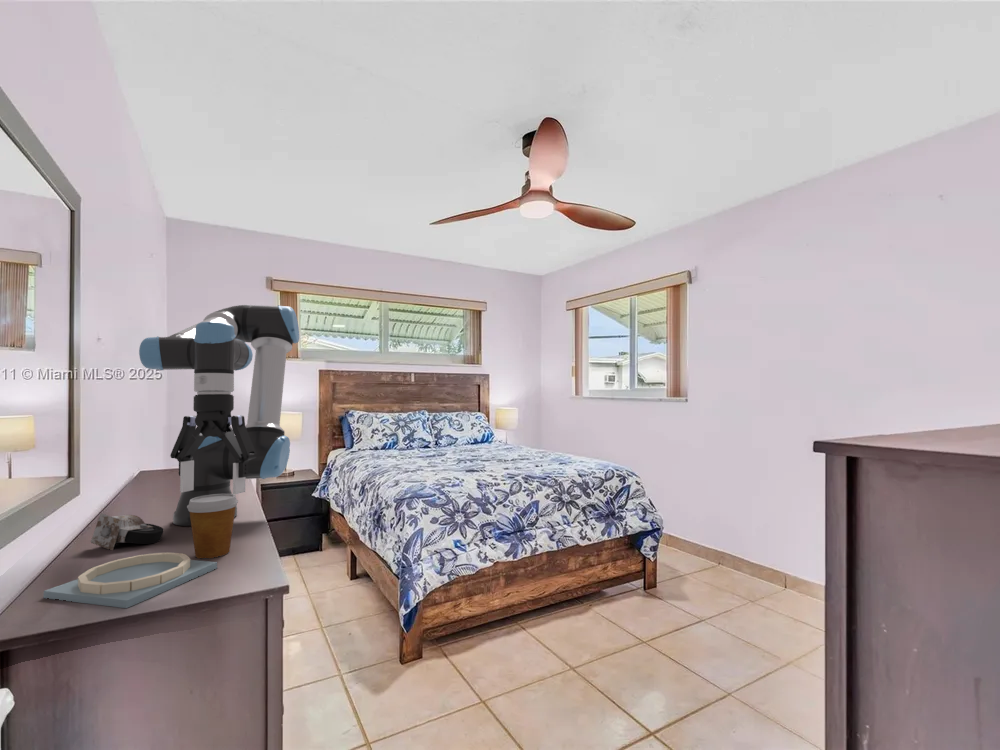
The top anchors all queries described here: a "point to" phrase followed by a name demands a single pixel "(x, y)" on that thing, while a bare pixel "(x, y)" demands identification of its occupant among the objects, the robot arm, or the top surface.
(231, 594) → the top surface
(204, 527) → the disposable coffee cup
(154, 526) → the caster wheel
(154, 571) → the collar base
